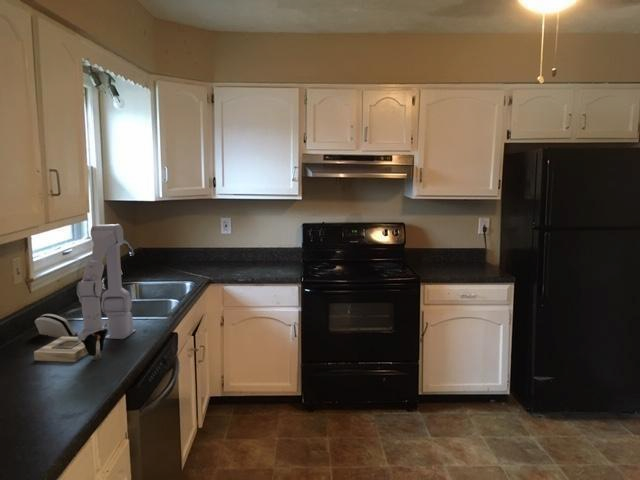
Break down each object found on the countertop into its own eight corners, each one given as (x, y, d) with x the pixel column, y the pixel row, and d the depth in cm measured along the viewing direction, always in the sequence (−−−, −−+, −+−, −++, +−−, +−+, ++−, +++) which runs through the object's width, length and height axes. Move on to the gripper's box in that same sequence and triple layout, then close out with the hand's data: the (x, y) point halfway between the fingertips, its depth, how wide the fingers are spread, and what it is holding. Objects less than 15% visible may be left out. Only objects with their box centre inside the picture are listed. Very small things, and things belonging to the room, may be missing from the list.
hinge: (79, 335, 193) (69, 314, 188) (69, 343, 189) (59, 322, 185) (51, 329, 200) (40, 309, 196) (41, 337, 196) (30, 317, 192)
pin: (94, 355, 172) (92, 333, 170) (104, 356, 171) (102, 333, 170) (87, 360, 168) (85, 337, 167) (98, 360, 167) (96, 337, 166)
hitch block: (63, 344, 184) (62, 335, 183) (100, 345, 182) (99, 336, 181) (34, 360, 169) (33, 351, 168) (75, 361, 167) (74, 352, 166)
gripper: (90, 321, 159) (94, 361, 162) (114, 308, 174) (118, 345, 176) (70, 321, 160) (74, 361, 163) (96, 308, 175) (99, 344, 177)
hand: (95, 352), depth 169 cm, fingers closed on pin, 3 cm apart
